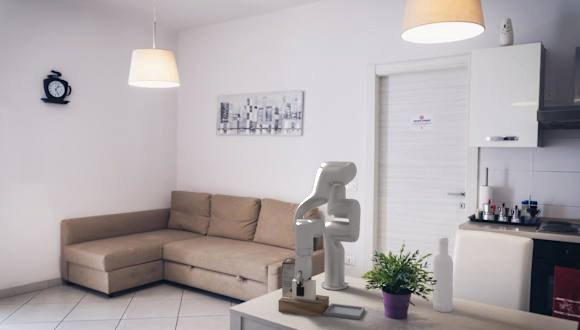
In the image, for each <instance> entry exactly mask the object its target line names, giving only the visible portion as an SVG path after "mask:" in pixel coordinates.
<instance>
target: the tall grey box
mask: <svg viewBox="0 0 580 330" xmlns="http://www.w3.org/2000/svg"><path fill="white" fill-rule="evenodd" d="M295 260H296V257H295V258H293V257H286V258H285V259H284V260H283V261H282V264H281V265H282V266H281V269H282V270H281V272H282V273H281V276H282V277H281V282H282V286H281V287H282V291H281V292H282V297H283V296H284V295H285V294H287V293H288V292H292V280H294V274H295ZM282 297H281V298H282Z"/></svg>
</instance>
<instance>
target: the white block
mask: <svg viewBox="0 0 580 330" xmlns="http://www.w3.org/2000/svg"><path fill="white" fill-rule="evenodd" d="M301 283H302V281H301ZM303 287H304V297H301V296H297V295H296V280H295V279H294V280H292V298H297V299H306V300H314V301H316V295H317V280H316V279H311V280H309V279H307V280H306V281H304V286H303Z"/></svg>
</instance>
